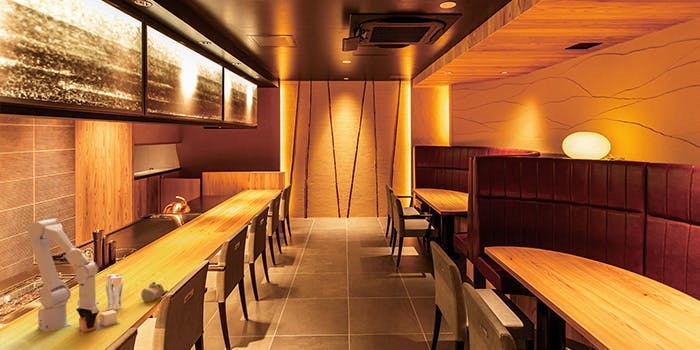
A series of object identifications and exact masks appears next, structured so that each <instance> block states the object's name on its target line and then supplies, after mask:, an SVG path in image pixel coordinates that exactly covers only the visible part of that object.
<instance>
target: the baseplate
mask: <svg viewBox="0 0 700 350" xmlns="http://www.w3.org/2000/svg"><path fill="white" fill-rule="evenodd" d="M119 325H121V323H120V322H118V321H117V323H114V324H110V325H107V326H103V325H102V324H100V321H97V328H96V329H92V330H89V331H85V332H83V331H81V330H80V329H79V326H78V327H76V328H75V329H76V330H78V331H79V332H80V333H82V334H84V335H86V334H91V333H94V332H99V331H101V330H104V329H108V328H111V327H115V326H119Z"/></svg>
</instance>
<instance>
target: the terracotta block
mask: <svg viewBox="0 0 700 350" xmlns="http://www.w3.org/2000/svg"><path fill="white" fill-rule="evenodd" d="M78 319H79V320H78V325H79V326H78V327H79V329H80V330H81V331H83V332H85V331H89V330H92V329H96V328H97V322H98V321H97V320H98V319H97V317H96V319H95V323H94V327H93V328H89V329H88V328H87V325H86V320H85V317H83V318H80V317H79V318H78ZM81 331H80V332H81Z"/></svg>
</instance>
